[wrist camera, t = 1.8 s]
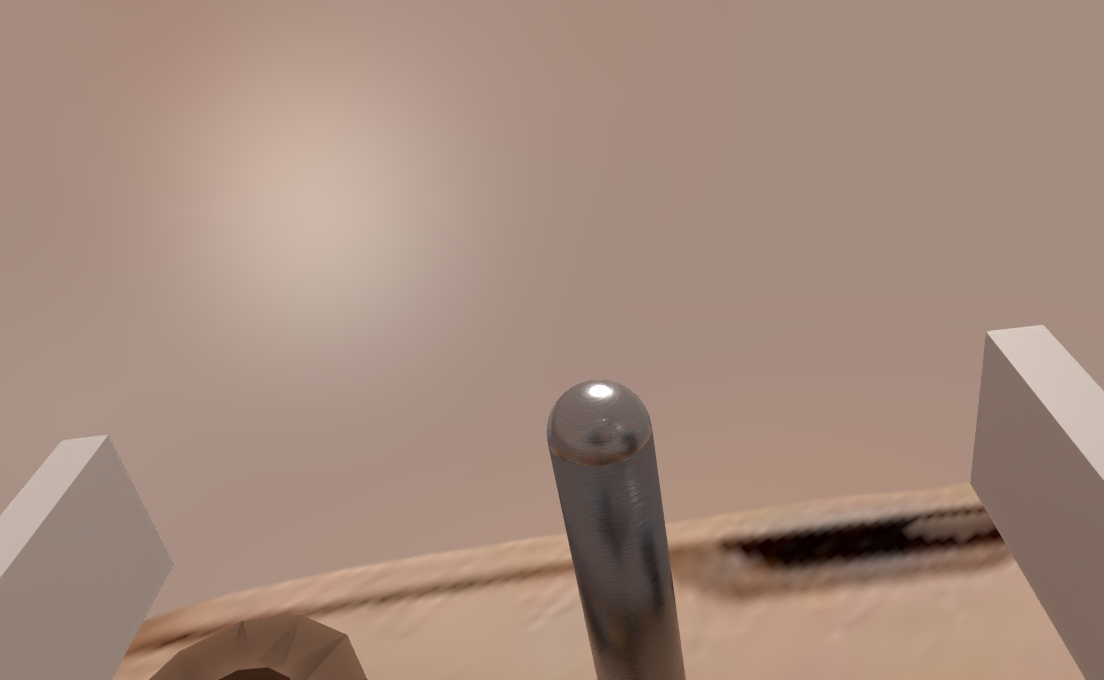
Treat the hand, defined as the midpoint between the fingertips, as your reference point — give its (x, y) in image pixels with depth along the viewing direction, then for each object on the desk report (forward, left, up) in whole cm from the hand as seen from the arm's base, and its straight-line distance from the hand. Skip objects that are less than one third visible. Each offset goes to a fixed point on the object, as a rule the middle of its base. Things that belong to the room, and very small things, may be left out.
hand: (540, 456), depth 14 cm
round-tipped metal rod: (0, -10, -24) cm, 26 cm away
